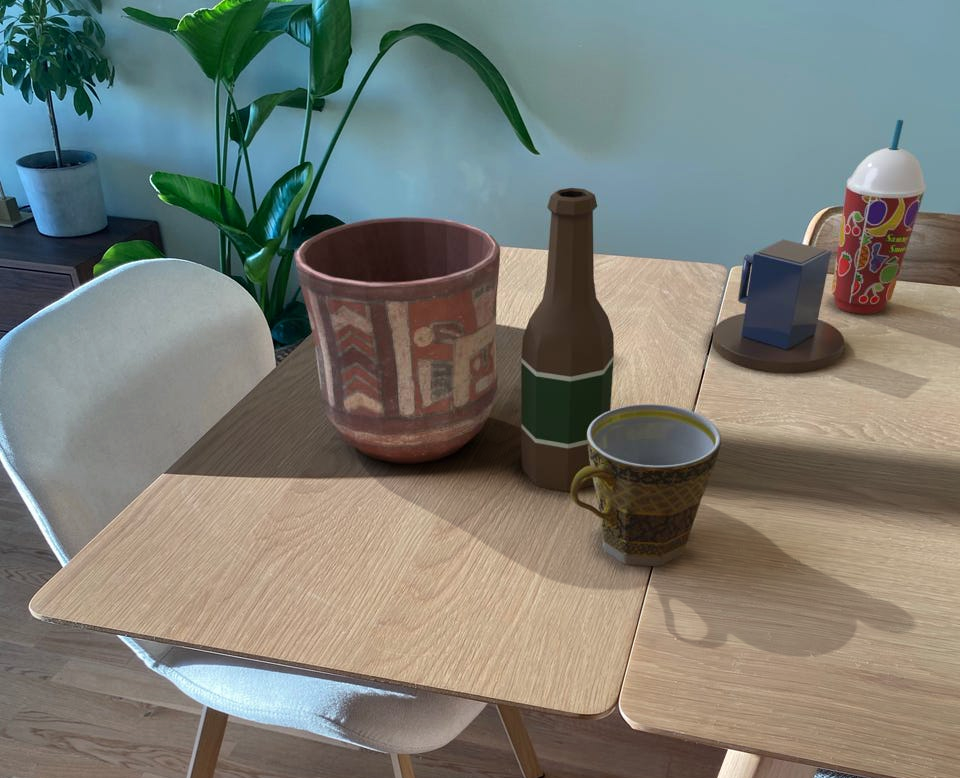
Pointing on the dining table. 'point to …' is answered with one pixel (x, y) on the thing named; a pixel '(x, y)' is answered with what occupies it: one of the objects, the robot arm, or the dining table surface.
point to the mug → (783, 292)
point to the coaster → (777, 348)
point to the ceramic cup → (648, 478)
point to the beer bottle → (565, 351)
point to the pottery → (404, 333)
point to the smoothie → (876, 227)
